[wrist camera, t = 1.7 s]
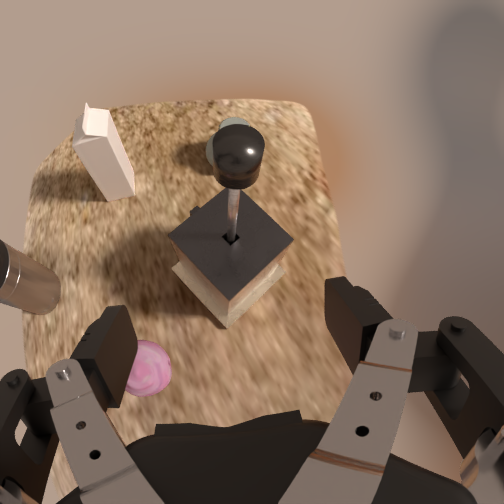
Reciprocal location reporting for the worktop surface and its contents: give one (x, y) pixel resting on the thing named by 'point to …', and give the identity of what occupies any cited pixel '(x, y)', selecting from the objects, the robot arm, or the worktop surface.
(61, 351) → the worktop surface
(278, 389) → the worktop surface
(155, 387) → the cupcake
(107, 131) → the milk
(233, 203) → the joystick lever
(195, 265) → the arcade joystick
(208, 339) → the worktop surface
